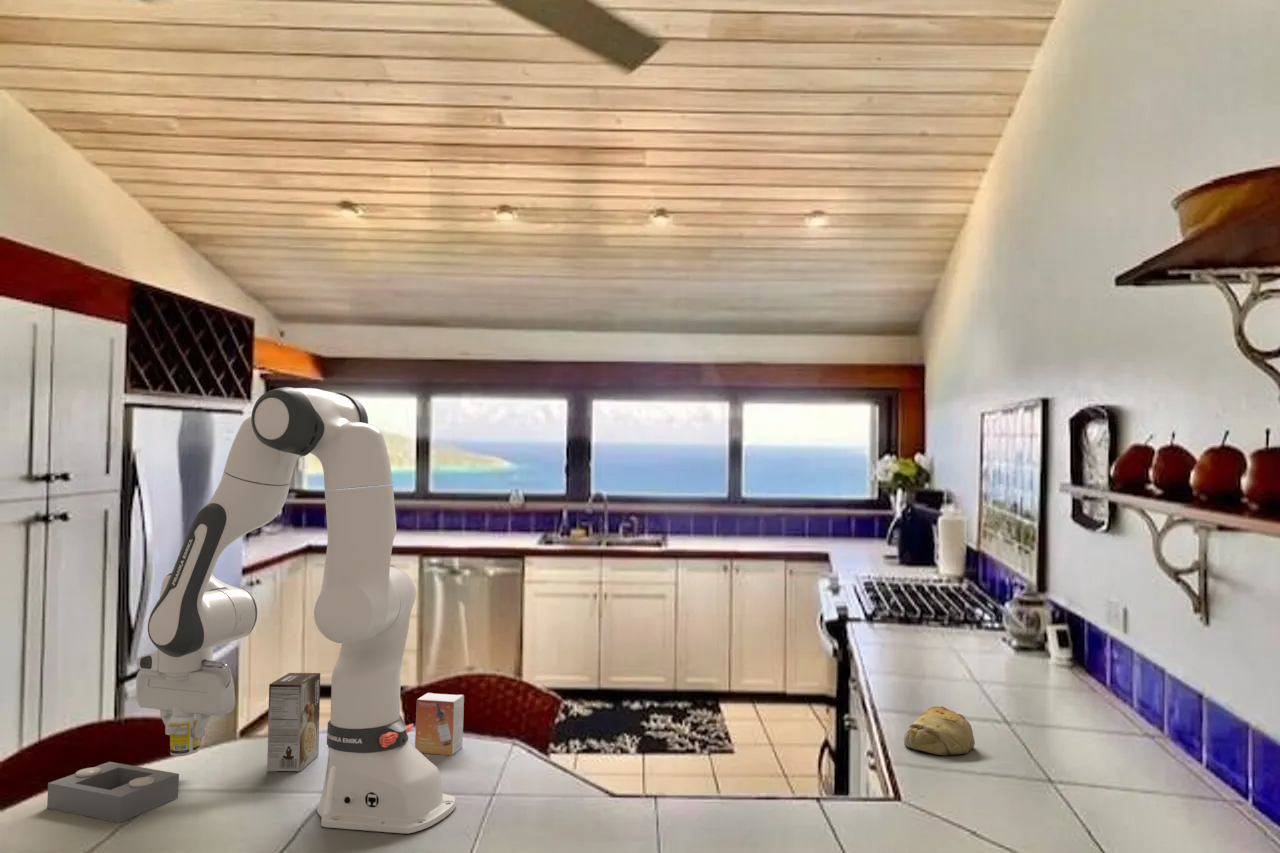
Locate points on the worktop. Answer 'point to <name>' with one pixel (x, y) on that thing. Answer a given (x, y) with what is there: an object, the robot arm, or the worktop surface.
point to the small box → (439, 723)
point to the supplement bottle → (183, 733)
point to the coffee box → (293, 721)
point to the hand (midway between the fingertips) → (185, 735)
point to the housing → (113, 791)
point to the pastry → (940, 733)
